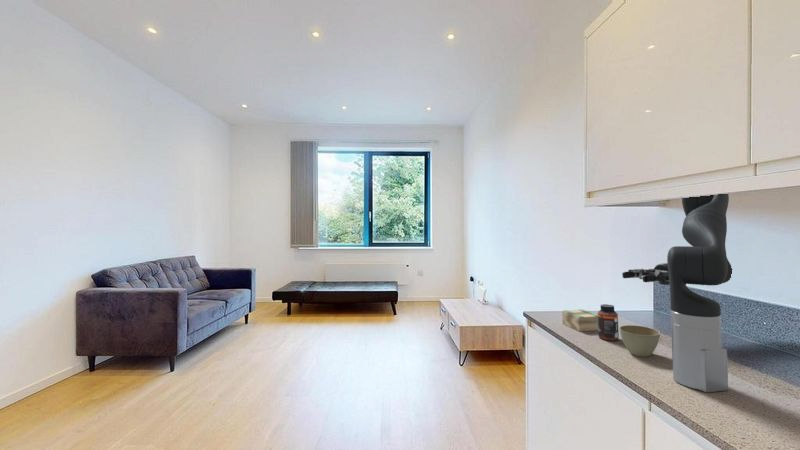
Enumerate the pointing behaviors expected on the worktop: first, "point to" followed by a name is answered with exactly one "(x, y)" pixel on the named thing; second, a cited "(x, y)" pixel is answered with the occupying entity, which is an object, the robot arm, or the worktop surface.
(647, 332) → the beige round bowl
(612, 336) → the supplement bottle
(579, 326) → the step
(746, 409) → the worktop surface
